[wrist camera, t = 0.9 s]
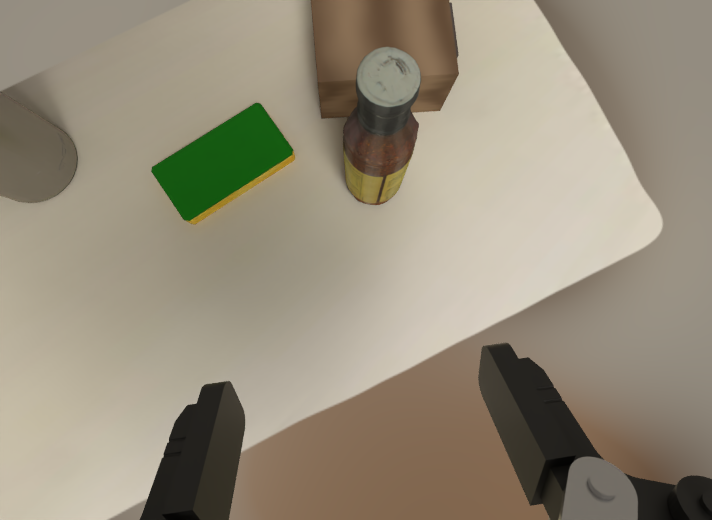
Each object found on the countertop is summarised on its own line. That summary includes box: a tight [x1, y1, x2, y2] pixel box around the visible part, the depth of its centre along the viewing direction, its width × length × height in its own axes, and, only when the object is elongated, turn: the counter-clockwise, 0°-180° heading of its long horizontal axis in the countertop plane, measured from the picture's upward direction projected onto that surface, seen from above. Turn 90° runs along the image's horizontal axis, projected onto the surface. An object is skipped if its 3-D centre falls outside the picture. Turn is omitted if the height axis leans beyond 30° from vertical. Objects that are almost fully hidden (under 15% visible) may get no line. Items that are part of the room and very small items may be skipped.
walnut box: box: [311, 0, 459, 118], centre depth 40 cm, size 15×12×7 cm
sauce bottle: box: [343, 47, 421, 205], centre depth 32 cm, size 7×6×20 cm
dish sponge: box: [152, 103, 295, 224], centre depth 41 cm, size 7×14×2 cm, turn 125°
